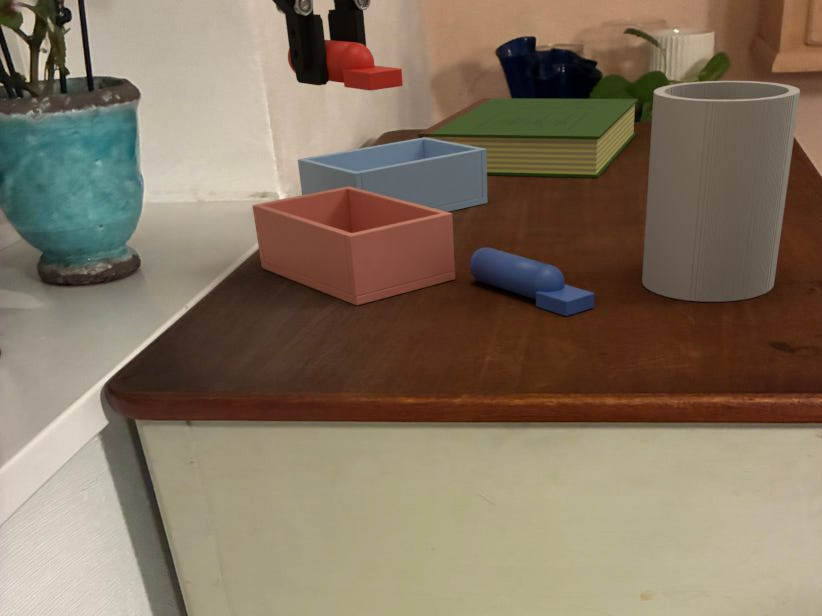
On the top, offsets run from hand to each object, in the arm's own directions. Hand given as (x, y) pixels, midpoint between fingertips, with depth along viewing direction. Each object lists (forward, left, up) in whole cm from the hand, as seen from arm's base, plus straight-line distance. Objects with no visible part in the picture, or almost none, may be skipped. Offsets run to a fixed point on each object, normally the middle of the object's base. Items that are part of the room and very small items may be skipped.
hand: (331, 78), depth 69 cm
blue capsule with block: (+14, +5, -13) cm, 20 cm away
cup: (+21, +16, -13) cm, 29 cm away
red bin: (+1, 0, -13) cm, 13 cm away
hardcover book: (-24, +40, -13) cm, 49 cm away
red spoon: (+1, 0, 0) cm, 1 cm away
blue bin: (-14, +14, -13) cm, 24 cm away
